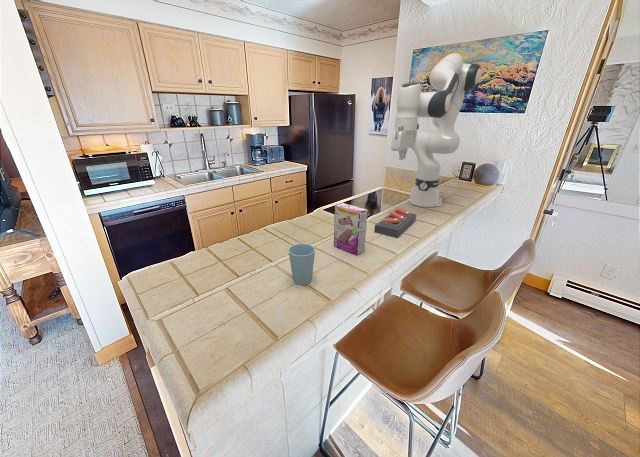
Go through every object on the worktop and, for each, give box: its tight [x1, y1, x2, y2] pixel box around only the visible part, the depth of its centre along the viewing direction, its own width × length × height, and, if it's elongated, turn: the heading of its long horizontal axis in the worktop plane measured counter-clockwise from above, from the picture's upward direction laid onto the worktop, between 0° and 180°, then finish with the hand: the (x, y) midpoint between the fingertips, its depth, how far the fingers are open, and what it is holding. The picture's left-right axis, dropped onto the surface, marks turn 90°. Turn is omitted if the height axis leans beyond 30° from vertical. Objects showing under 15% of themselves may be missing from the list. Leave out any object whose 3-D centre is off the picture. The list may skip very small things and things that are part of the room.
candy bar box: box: [333, 202, 369, 256], centre depth 96 cm, size 11×5×16 cm, turn 47°
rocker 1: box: [383, 218, 399, 223], centre depth 113 cm, size 3×6×1 cm, turn 54°
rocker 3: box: [394, 207, 411, 215], centre depth 123 cm, size 3×6×1 cm, turn 54°
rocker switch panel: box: [373, 210, 417, 239], centre depth 120 cm, size 28×10×4 cm, turn 144°
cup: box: [287, 243, 316, 286], centre depth 78 cm, size 8×8×10 cm
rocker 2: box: [389, 210, 405, 220], centre depth 118 cm, size 3×6×1 cm, turn 54°
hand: (402, 159), depth 118 cm, fingers closed
